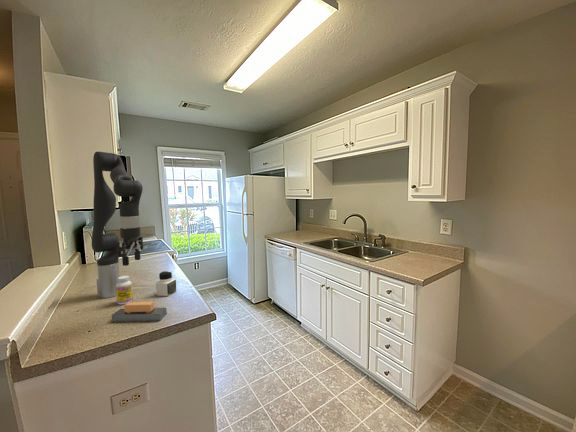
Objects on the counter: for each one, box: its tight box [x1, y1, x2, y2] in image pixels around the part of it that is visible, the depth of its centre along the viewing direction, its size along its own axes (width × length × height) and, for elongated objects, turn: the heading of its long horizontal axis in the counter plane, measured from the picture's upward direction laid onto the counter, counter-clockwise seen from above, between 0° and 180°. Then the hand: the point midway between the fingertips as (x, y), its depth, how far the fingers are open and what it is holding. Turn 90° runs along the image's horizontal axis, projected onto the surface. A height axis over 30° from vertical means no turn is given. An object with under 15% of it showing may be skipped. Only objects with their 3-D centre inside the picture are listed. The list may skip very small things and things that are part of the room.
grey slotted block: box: [111, 307, 168, 323], centre depth 107 cm, size 20×6×3 cm, turn 91°
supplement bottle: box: [115, 275, 134, 305], centre depth 123 cm, size 7×7×13 cm
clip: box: [123, 301, 155, 314], centre depth 107 cm, size 11×3×6 cm, turn 91°
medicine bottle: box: [155, 270, 177, 297], centre depth 134 cm, size 7×7×12 cm
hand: (131, 262), depth 109 cm, fingers open, 8 cm apart
